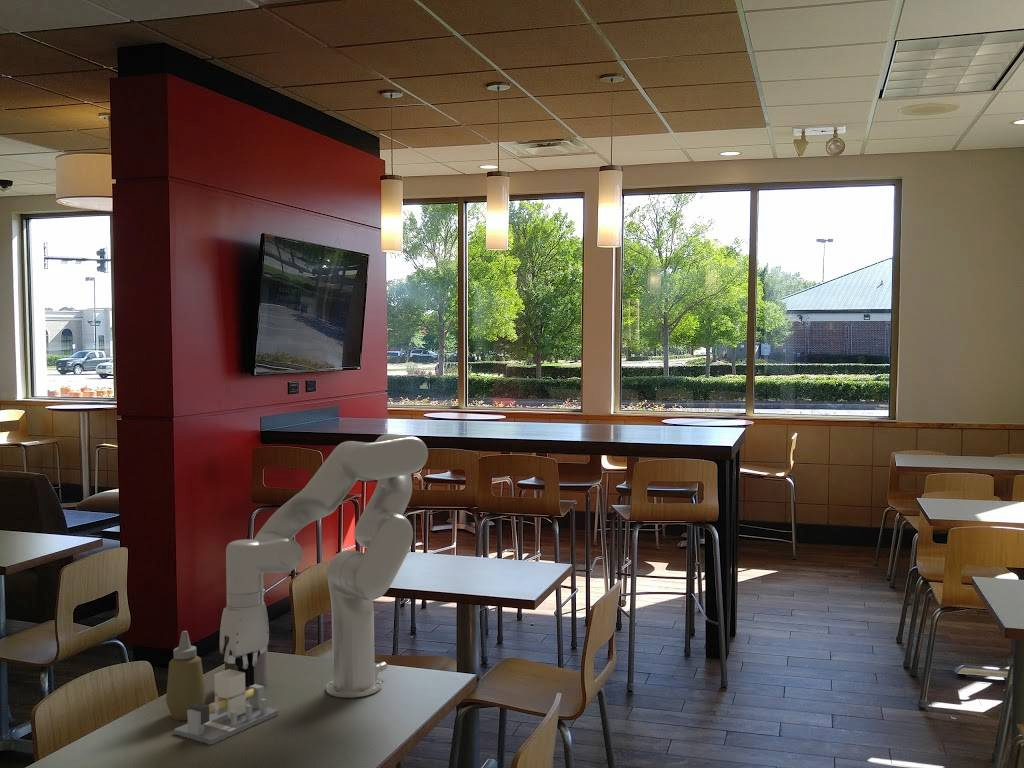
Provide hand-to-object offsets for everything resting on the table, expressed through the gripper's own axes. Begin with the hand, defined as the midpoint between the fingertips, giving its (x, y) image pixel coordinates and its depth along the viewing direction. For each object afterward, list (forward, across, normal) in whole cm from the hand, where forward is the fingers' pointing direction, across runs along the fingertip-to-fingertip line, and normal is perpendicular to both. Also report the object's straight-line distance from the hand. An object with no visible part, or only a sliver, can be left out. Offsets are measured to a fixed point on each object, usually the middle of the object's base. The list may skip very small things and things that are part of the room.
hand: (246, 684), depth 197 cm
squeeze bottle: (+7, +6, -11) cm, 15 cm away
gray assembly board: (+7, +5, 0) cm, 8 cm away
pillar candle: (+7, -13, -14) cm, 20 cm away
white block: (+5, +4, 0) cm, 6 cm away
